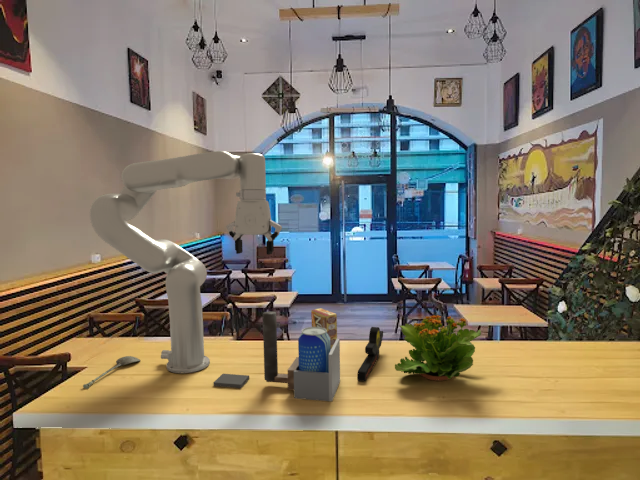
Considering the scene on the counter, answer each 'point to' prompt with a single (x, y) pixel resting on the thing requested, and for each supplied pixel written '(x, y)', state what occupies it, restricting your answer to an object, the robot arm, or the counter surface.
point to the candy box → (325, 322)
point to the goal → (319, 379)
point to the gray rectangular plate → (231, 380)
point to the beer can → (314, 350)
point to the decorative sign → (370, 353)
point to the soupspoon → (119, 362)
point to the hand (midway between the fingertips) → (254, 253)
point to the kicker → (275, 353)
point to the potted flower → (438, 348)
